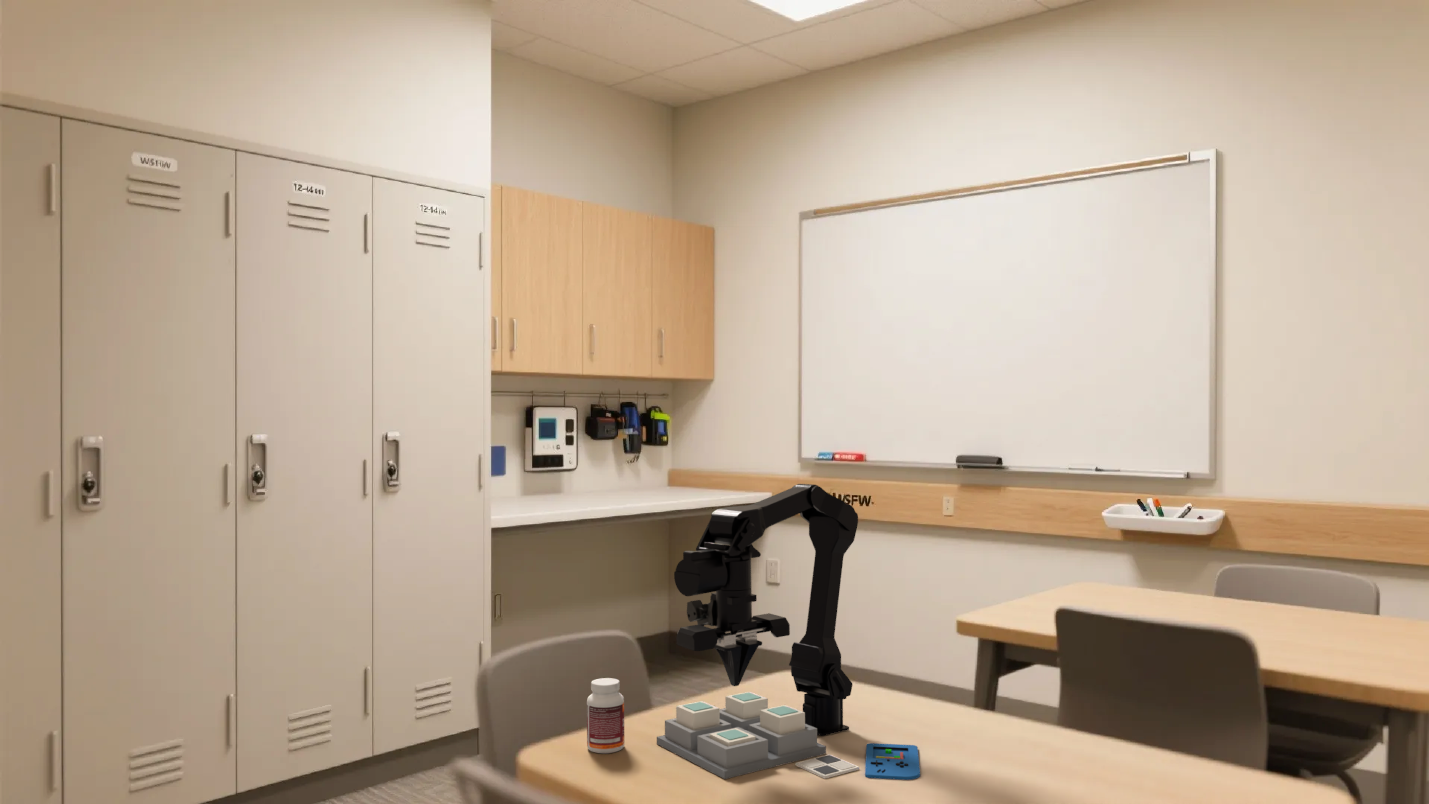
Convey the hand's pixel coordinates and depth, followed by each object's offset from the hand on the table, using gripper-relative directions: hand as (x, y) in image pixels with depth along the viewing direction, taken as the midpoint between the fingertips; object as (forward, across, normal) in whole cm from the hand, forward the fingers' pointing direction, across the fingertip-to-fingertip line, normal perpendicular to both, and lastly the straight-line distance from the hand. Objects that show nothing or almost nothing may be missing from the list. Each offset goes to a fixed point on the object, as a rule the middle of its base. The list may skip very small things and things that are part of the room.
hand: (734, 685), depth 161 cm
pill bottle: (+12, +14, -17) cm, 25 cm away
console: (+12, -4, -4) cm, 13 cm away
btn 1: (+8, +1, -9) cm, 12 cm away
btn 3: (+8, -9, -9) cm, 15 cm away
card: (+12, -9, +11) cm, 19 cm away
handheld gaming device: (+12, -19, +16) cm, 28 cm away
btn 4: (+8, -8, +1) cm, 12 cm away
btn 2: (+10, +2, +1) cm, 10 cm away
